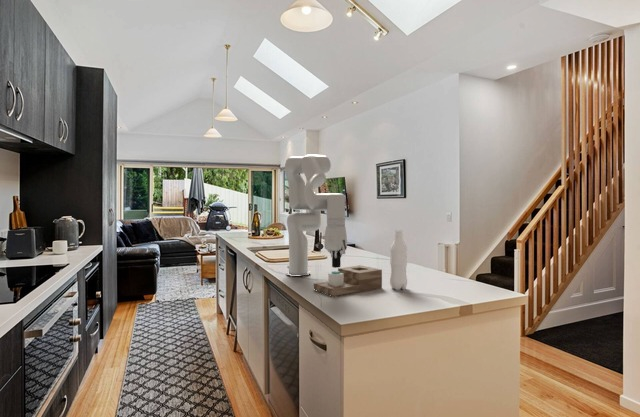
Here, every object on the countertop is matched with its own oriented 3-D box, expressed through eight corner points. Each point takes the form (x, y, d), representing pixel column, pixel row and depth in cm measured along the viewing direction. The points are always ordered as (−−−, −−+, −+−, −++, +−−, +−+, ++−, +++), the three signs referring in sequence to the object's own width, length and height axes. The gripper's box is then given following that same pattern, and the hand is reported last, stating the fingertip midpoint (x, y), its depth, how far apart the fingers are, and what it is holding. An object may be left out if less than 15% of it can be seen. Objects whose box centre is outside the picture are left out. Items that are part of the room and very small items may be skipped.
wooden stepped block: (313, 290, 163) (313, 271, 163) (360, 282, 178) (360, 265, 178) (333, 297, 151) (333, 276, 151) (381, 288, 166) (381, 269, 166)
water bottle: (408, 290, 162) (408, 231, 161) (391, 290, 162) (391, 231, 161) (405, 286, 169) (405, 229, 168) (388, 286, 169) (388, 229, 168)
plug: (328, 289, 162) (328, 271, 161) (337, 288, 164) (336, 270, 164) (334, 291, 158) (334, 272, 158) (343, 290, 160) (343, 271, 160)
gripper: (318, 222, 164) (318, 265, 164) (339, 224, 152) (340, 270, 152) (332, 222, 168) (332, 264, 169) (354, 223, 156) (354, 268, 157)
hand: (336, 267), depth 160 cm, fingers closed
